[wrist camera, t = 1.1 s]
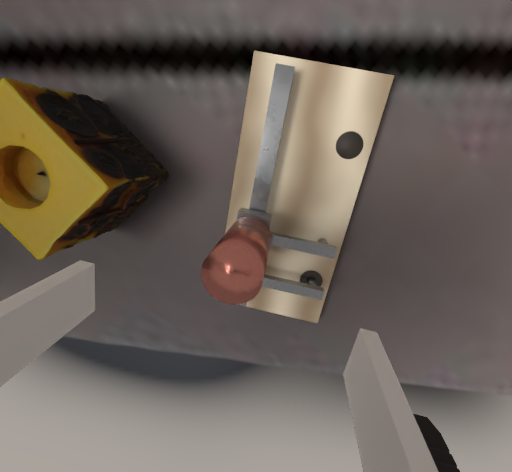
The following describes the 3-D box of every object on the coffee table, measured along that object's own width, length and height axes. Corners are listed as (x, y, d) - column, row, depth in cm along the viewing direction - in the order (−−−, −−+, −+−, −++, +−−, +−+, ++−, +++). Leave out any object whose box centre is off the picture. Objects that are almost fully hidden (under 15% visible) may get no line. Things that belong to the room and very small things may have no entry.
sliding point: (232, 243, 29) (197, 299, 18) (239, 203, 28) (205, 237, 17) (326, 264, 28) (346, 334, 18) (338, 224, 27) (368, 274, 16)
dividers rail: (234, 296, 31) (229, 309, 29) (276, 68, 24) (274, 58, 21) (310, 313, 31) (312, 329, 28) (378, 86, 23) (389, 78, 21)
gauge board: (217, 293, 33) (214, 299, 32) (255, 55, 25) (254, 50, 24) (316, 317, 32) (317, 323, 31) (389, 79, 24) (394, 75, 23)
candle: (172, 174, 29) (114, 187, 20) (115, 231, 32) (41, 266, 23) (101, 96, 28) (2, 69, 18) (48, 163, 31) (-61, 170, 21)
